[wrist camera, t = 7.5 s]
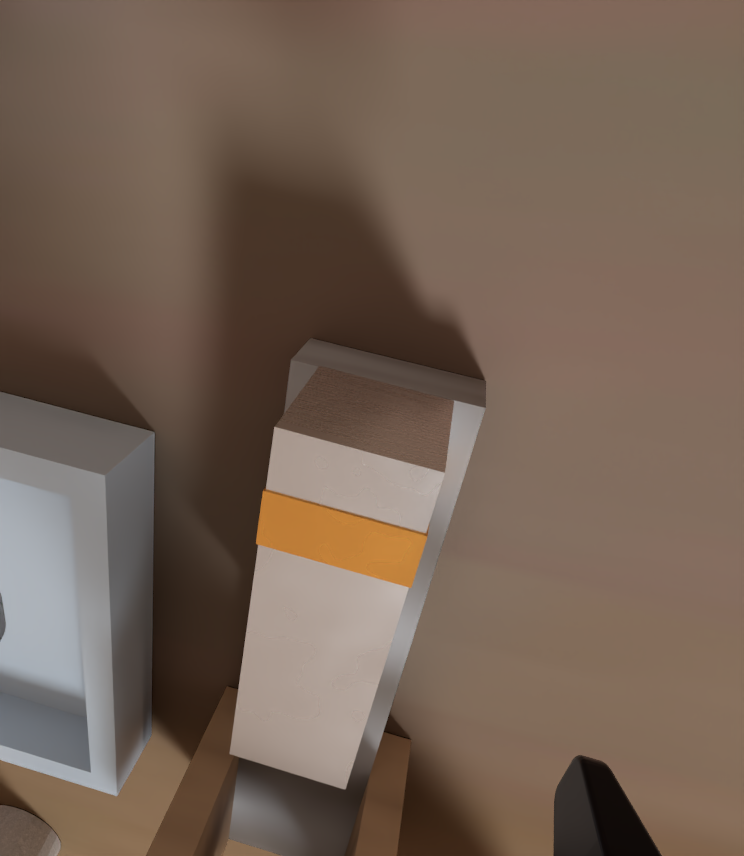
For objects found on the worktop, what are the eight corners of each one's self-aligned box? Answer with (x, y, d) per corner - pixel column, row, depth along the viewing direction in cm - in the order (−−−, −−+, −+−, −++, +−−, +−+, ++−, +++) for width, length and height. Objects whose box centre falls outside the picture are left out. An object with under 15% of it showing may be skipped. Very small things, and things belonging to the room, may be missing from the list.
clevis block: (376, 837, 29) (338, 1080, 21) (216, 788, 30) (124, 1008, 22) (534, 392, 17) (571, 586, 10) (263, 326, 18) (102, 460, 10)
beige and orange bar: (369, 686, 21) (346, 791, 18) (268, 656, 22) (227, 754, 18) (455, 400, 16) (447, 474, 12) (318, 364, 16) (271, 427, 12)
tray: (151, 735, 28) (117, 796, 26) (-60, 671, 29) (-114, 724, 27) (154, 431, 20) (104, 475, 18) (-138, 355, 21) (-228, 386, 18)
